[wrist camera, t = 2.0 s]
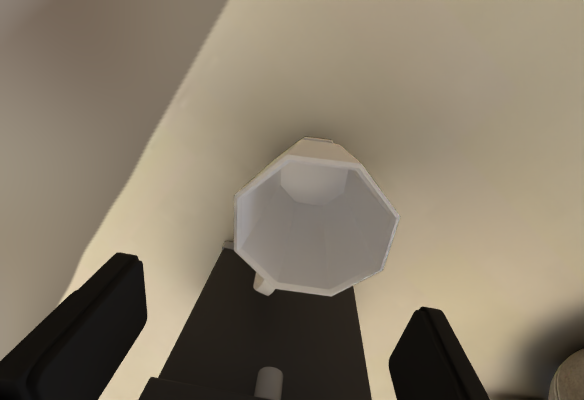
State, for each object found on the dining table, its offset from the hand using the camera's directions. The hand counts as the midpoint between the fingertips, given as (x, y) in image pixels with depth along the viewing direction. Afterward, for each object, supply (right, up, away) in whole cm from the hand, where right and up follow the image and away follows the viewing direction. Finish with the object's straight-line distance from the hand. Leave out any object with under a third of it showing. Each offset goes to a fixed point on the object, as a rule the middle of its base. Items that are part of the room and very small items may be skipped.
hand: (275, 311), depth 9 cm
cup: (+1, +5, +10) cm, 11 cm away
